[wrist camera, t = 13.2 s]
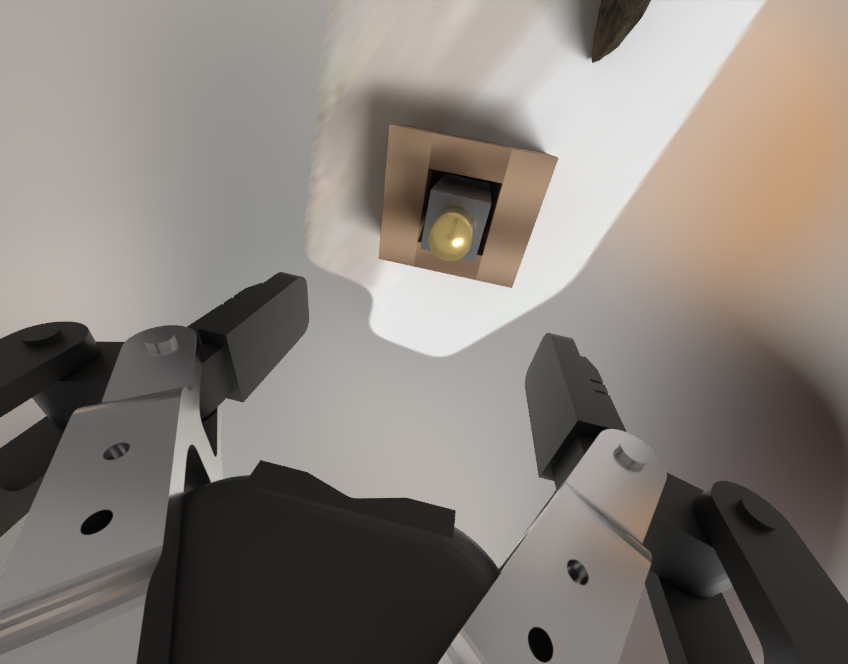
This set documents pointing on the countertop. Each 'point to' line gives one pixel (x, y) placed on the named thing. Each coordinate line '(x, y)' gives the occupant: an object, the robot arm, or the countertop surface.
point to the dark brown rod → (615, 24)
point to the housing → (429, 151)
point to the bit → (456, 218)
